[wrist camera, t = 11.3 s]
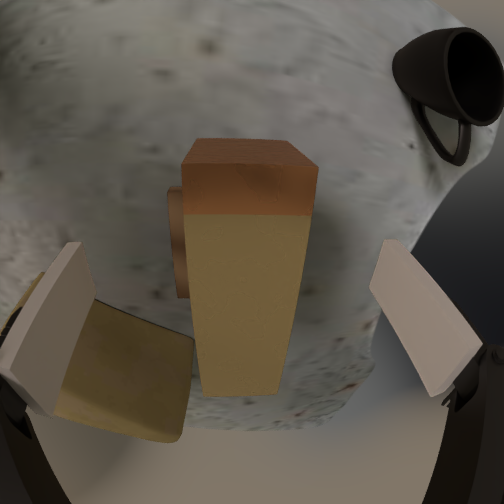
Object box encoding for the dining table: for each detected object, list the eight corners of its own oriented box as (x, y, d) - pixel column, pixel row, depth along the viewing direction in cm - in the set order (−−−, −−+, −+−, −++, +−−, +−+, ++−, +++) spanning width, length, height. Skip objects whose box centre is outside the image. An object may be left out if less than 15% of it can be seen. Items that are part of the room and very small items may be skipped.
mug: (369, 133, 24) (427, 157, 16) (383, 23, 18) (445, 8, 10) (430, 150, 25) (490, 180, 17) (445, 52, 19) (509, 56, 11)
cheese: (203, 316, 34) (199, 429, 22) (185, 361, 39) (179, 456, 26) (40, 265, 29) (-18, 354, 16) (45, 317, 33) (7, 399, 20)
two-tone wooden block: (262, 308, 26) (277, 394, 18) (206, 309, 25) (203, 396, 17) (277, 133, 18) (318, 167, 10) (201, 131, 17) (181, 163, 10)
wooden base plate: (170, 187, 26) (156, 212, 21) (297, 188, 27) (315, 213, 22) (179, 289, 32) (172, 327, 27) (284, 289, 33) (294, 326, 28)
